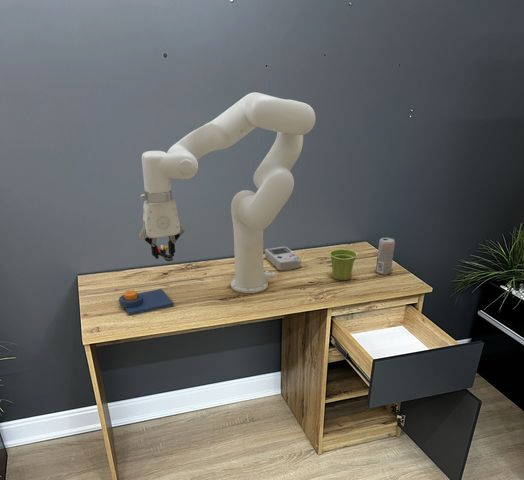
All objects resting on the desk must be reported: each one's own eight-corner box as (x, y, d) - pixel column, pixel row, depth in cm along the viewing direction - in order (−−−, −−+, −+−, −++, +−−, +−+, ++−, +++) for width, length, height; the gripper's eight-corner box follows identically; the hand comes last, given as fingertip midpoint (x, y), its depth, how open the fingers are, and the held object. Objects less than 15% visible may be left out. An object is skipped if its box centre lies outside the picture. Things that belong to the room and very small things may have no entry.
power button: (135, 295, 163) (134, 289, 162) (139, 299, 160) (138, 294, 159) (123, 297, 161) (122, 291, 160) (126, 302, 158) (125, 296, 157)
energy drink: (386, 268, 187) (390, 236, 181) (393, 273, 183) (398, 241, 177) (372, 270, 186) (376, 238, 180) (380, 275, 182) (384, 243, 175)
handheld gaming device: (279, 272, 185) (280, 262, 183) (264, 258, 196) (264, 248, 195) (302, 268, 188) (302, 258, 186) (285, 255, 199) (286, 245, 197)
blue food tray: (161, 292, 171) (160, 283, 169) (173, 306, 162) (172, 297, 160) (116, 300, 165) (115, 292, 163) (126, 316, 156) (124, 307, 154)
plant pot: (336, 284, 175) (338, 260, 171) (323, 274, 183) (324, 251, 178) (360, 279, 179) (362, 256, 174) (345, 270, 186) (347, 247, 181)
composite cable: (174, 261, 156) (173, 253, 154) (158, 262, 154) (158, 255, 153) (167, 250, 163) (166, 242, 162) (152, 252, 162) (151, 244, 161)
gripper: (133, 202, 143) (140, 264, 153) (190, 196, 150) (193, 256, 159) (126, 196, 149) (133, 256, 158) (181, 190, 156) (185, 248, 165)
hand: (163, 255), depth 159 cm, fingers closed on composite cable, 4 cm apart
